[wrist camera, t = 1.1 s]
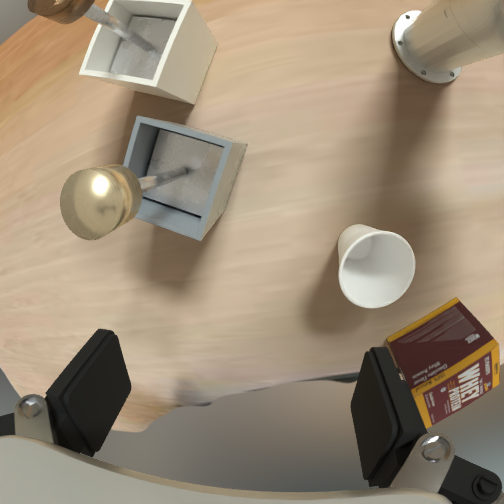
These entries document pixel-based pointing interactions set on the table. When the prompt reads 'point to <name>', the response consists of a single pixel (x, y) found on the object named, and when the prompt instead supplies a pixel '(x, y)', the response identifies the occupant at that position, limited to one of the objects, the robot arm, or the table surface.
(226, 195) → the grey open box
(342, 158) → the table surface
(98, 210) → the brass knobbed plunger
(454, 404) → the supplement box
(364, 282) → the cup
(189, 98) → the white open box
